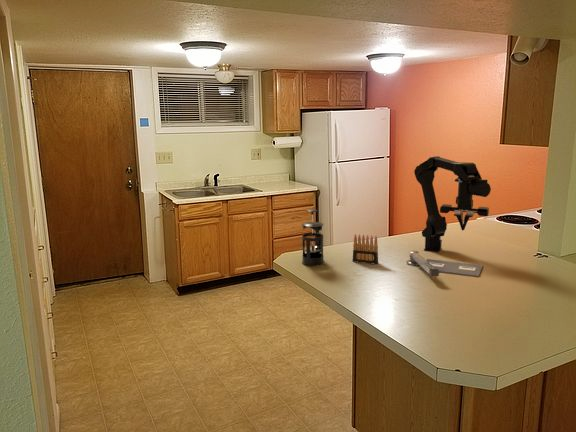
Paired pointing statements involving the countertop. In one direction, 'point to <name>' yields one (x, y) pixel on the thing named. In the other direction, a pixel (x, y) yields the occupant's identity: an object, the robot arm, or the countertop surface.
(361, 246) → the ammunition clip
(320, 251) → the french press
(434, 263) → the label board
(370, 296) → the countertop surface
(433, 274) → the cable arm
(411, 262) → the pivot post
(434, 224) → the robot arm
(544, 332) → the countertop surface
